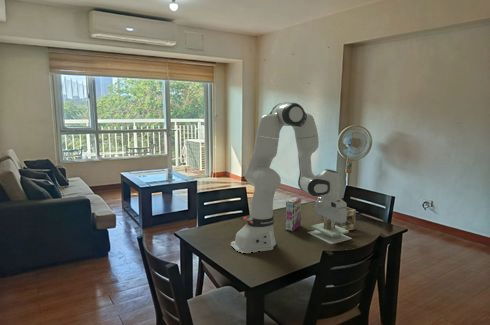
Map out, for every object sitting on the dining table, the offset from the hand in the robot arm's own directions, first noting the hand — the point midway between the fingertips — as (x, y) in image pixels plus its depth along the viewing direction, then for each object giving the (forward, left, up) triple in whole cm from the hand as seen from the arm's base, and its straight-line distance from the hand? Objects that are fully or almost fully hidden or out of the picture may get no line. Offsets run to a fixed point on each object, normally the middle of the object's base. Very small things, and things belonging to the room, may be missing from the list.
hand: (329, 226), depth 174 cm
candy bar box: (-9, +19, -6) cm, 22 cm away
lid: (0, 0, -2) cm, 2 cm away
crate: (+14, +8, -5) cm, 17 cm away
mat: (0, 0, -5) cm, 5 cm away
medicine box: (+14, +8, -6) cm, 17 cm away
